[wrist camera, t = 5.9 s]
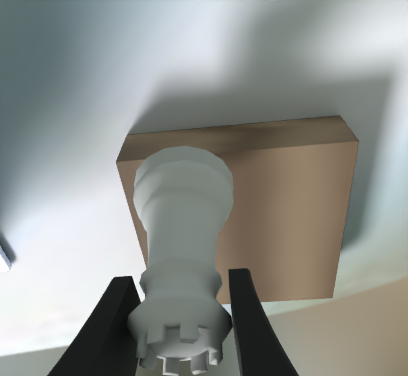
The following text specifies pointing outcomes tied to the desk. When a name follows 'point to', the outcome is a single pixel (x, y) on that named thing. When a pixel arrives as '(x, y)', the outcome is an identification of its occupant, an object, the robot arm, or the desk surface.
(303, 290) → the walnut block
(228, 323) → the rook chess piece
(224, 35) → the desk surface
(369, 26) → the desk surface
